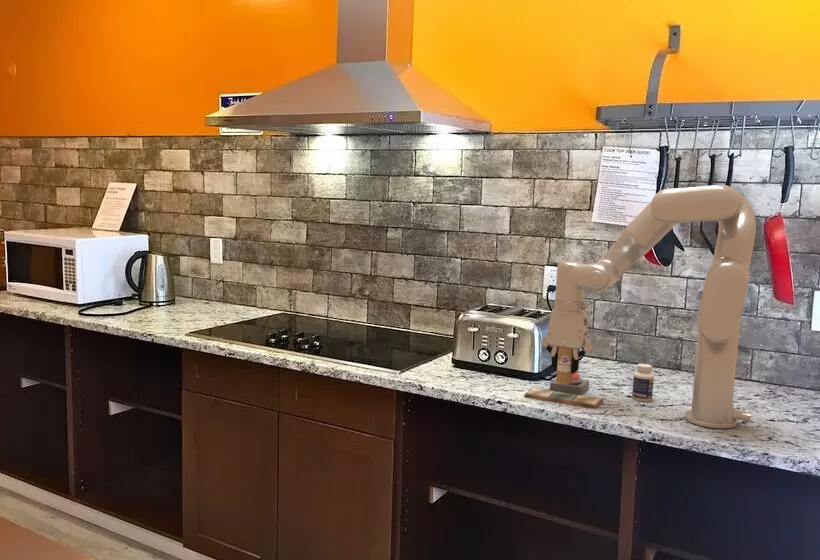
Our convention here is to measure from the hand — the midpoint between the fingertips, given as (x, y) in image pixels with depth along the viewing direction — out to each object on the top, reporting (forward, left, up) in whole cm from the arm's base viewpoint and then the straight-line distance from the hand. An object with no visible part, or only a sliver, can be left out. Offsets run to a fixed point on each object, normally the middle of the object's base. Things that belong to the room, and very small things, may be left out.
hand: (564, 370), depth 208 cm
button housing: (+1, -10, -8) cm, 13 cm away
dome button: (+1, -10, -7) cm, 12 cm away
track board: (0, 0, -8) cm, 8 cm away
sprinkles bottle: (0, 0, -4) cm, 4 cm away
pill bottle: (-19, -13, -8) cm, 24 cm away
